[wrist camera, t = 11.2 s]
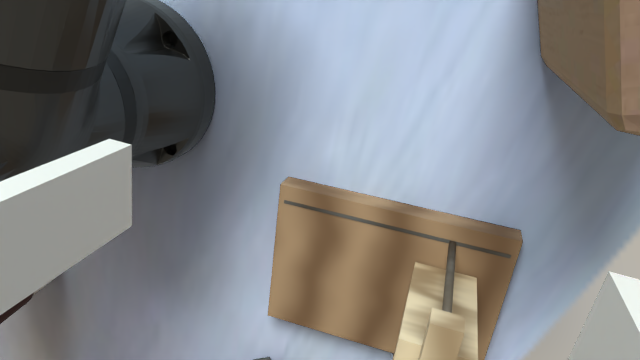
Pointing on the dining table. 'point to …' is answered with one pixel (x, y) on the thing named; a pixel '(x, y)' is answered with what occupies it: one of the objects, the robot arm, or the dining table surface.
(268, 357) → the hammer
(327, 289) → the board
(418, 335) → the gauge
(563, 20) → the wooden block
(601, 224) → the dining table surface
